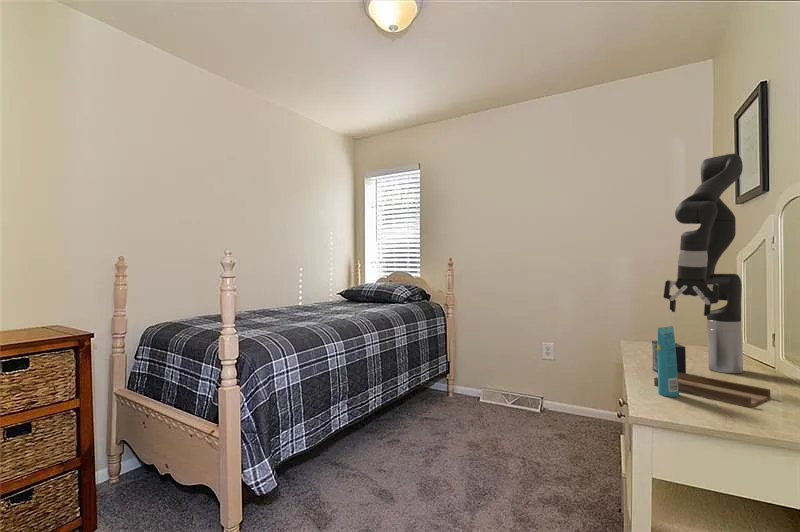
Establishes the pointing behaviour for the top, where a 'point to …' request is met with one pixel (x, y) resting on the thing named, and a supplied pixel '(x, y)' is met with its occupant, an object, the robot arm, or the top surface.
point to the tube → (667, 363)
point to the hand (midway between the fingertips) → (689, 313)
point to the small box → (679, 356)
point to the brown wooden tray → (721, 390)
